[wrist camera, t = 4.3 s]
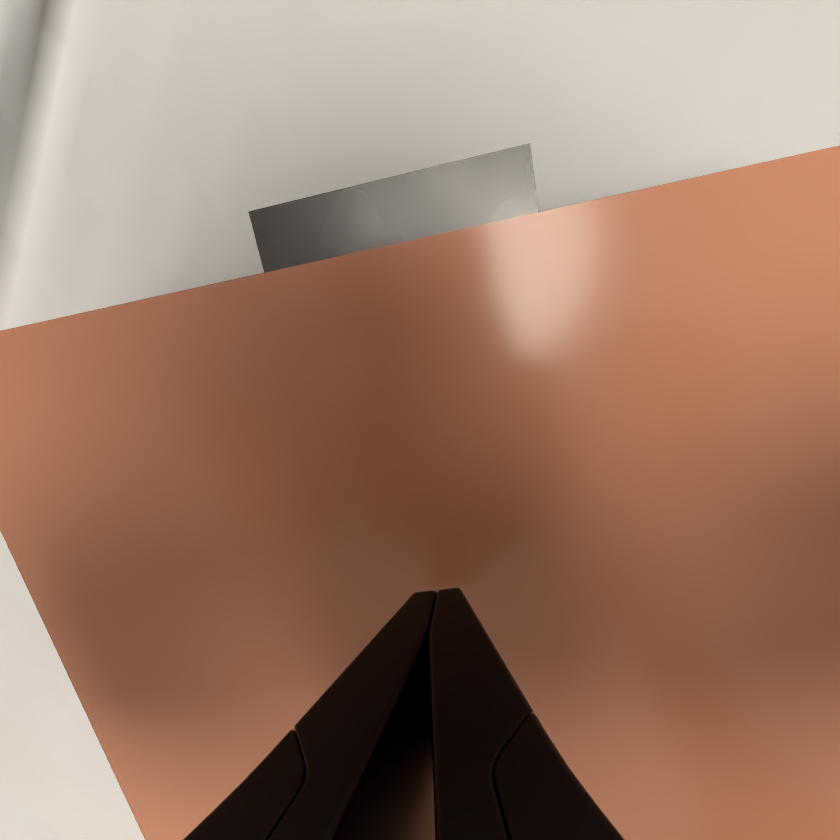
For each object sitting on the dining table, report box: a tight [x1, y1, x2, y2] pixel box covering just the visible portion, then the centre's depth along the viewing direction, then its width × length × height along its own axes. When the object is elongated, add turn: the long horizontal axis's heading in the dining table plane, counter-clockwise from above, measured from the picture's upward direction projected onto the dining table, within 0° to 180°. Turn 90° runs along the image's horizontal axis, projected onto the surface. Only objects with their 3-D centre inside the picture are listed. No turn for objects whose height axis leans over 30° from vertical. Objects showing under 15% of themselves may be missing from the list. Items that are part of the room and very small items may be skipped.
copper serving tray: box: [0, 146, 840, 840], centre depth 10 cm, size 16×18×1 cm
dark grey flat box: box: [249, 144, 538, 273], centre depth 13 cm, size 18×18×5 cm
